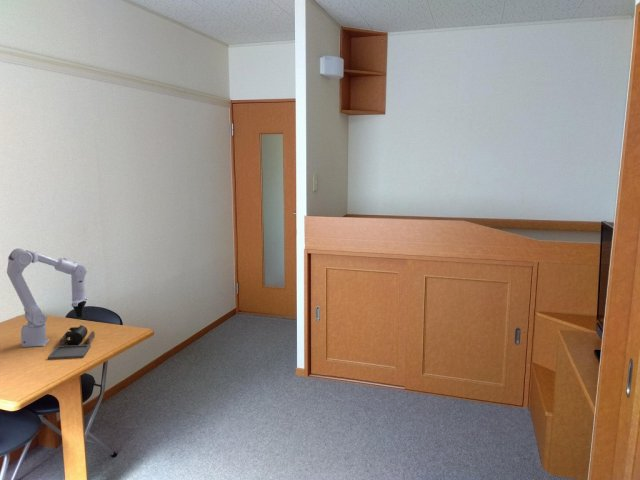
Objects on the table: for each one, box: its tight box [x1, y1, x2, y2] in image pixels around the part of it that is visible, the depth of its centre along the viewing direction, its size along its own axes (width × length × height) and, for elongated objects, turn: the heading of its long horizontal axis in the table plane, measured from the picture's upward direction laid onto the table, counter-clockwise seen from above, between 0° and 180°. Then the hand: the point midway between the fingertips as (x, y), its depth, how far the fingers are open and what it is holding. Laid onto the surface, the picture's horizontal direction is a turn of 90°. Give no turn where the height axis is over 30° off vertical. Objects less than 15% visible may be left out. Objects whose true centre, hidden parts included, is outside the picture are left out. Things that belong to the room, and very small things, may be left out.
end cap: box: [65, 325, 89, 346], centre depth 228 cm, size 10×7×7 cm
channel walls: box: [59, 331, 96, 346], centre depth 229 cm, size 12×10×3 cm
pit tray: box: [47, 343, 92, 360], centre depth 217 cm, size 14×13×1 cm
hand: (79, 316), depth 239 cm, fingers closed
